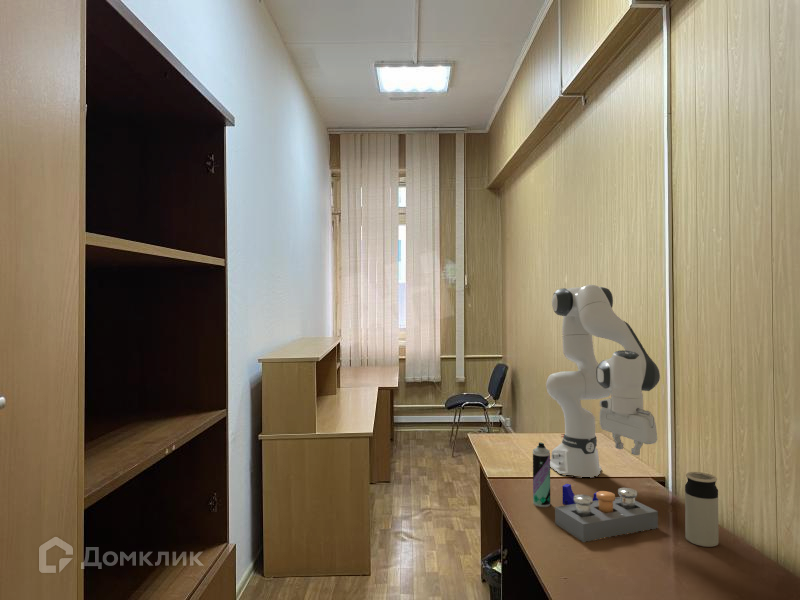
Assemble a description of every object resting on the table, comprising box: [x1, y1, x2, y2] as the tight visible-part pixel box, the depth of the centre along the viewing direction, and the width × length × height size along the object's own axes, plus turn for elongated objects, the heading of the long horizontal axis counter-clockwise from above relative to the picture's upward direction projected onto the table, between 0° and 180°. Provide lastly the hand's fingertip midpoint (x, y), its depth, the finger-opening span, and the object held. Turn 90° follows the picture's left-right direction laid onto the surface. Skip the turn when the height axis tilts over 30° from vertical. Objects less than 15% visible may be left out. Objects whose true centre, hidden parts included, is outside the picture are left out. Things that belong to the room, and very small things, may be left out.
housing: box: [554, 496, 659, 543], centre depth 158 cm, size 13×26×5 cm, turn 109°
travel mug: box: [684, 471, 719, 548], centre depth 148 cm, size 8×8×18 cm
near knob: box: [574, 494, 593, 517], centre depth 156 cm, size 5×5×6 cm
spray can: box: [532, 442, 551, 508], centre depth 176 cm, size 6×6×20 cm
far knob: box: [617, 487, 638, 510], centre depth 161 cm, size 5×5×6 cm
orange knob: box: [595, 490, 616, 513], centre depth 158 cm, size 5×5×6 cm
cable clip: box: [561, 483, 599, 506], centre depth 173 cm, size 12×4×6 cm, turn 47°
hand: (627, 451), depth 161 cm, fingers open, 5 cm apart
